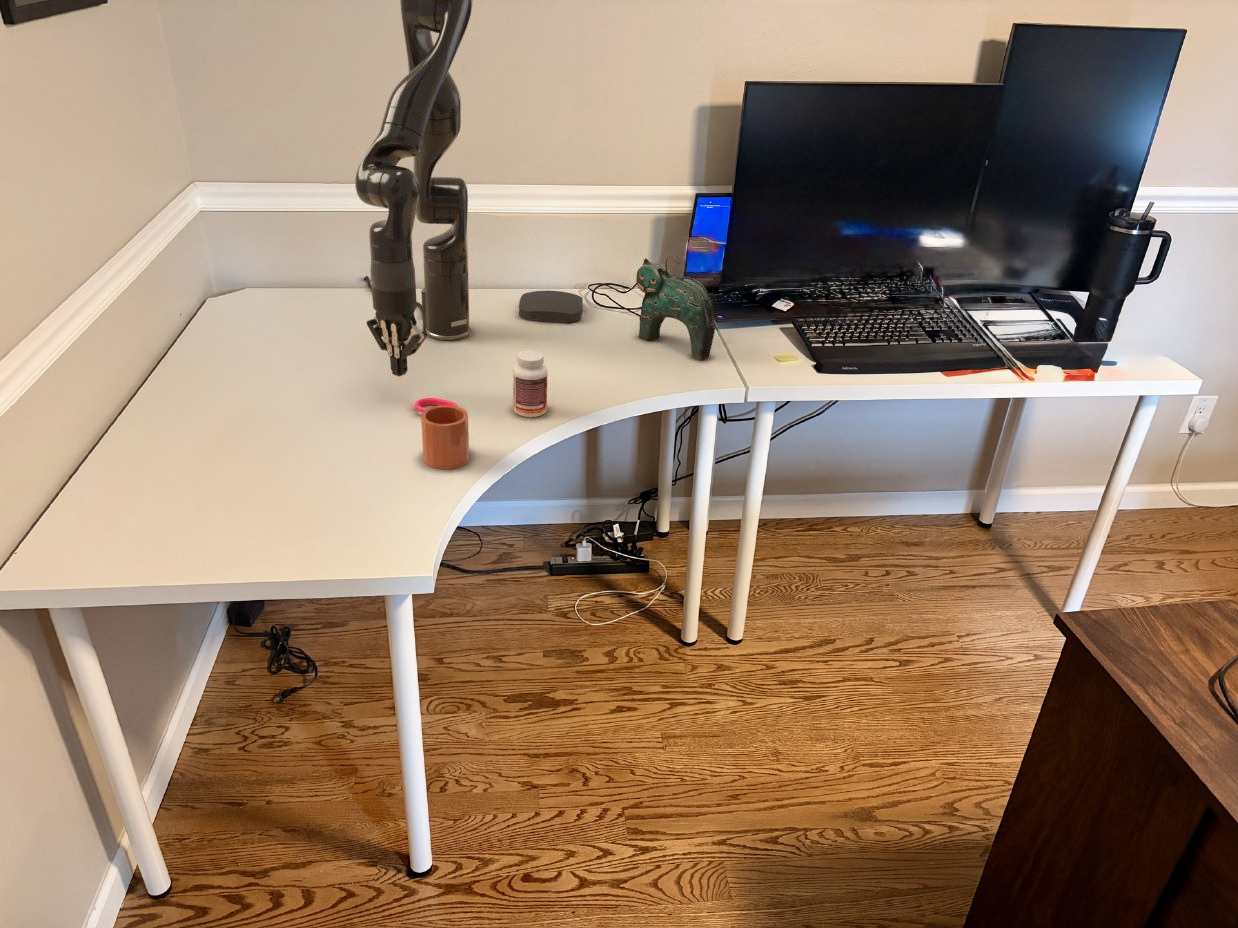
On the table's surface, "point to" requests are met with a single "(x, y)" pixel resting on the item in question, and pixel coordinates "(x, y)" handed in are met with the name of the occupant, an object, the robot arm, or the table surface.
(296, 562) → the table surface
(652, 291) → the ceramic cat
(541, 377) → the pill bottle
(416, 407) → the fitness band
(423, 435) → the clay pot
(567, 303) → the media streaming box
